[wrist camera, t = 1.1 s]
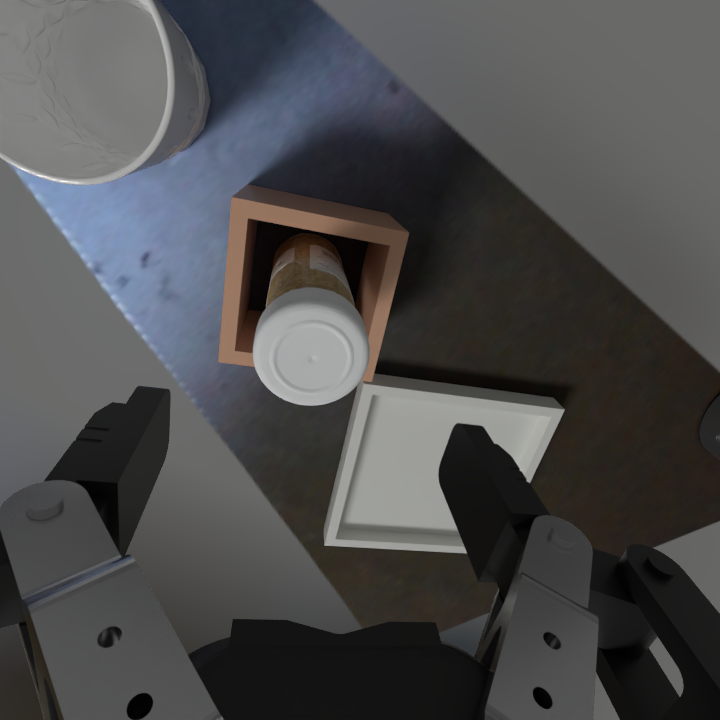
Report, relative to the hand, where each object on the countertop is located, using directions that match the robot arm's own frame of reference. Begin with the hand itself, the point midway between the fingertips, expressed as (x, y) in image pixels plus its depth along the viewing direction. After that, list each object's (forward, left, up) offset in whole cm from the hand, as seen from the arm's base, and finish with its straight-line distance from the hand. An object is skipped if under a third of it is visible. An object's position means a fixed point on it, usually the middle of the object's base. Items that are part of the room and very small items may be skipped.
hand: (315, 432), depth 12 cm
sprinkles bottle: (0, 0, -19) cm, 19 cm away
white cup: (+10, -8, -19) cm, 23 cm away
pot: (0, 0, -18) cm, 18 cm away
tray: (-13, +15, -18) cm, 27 cm away
